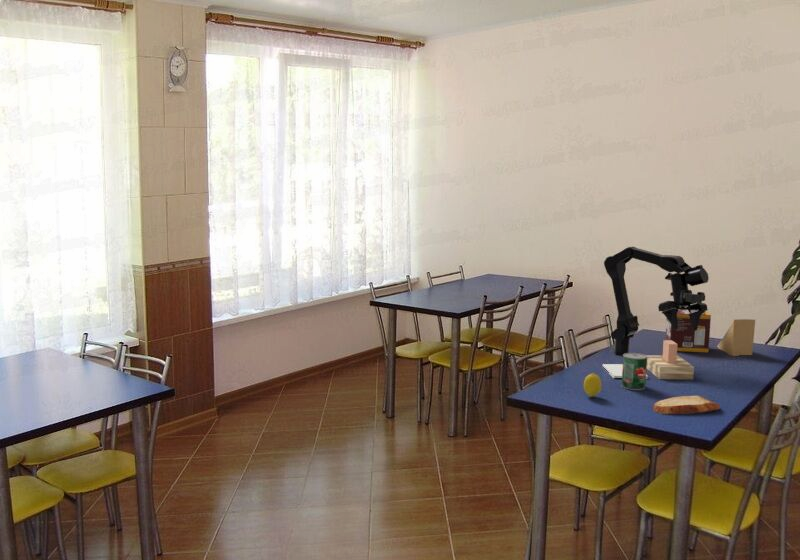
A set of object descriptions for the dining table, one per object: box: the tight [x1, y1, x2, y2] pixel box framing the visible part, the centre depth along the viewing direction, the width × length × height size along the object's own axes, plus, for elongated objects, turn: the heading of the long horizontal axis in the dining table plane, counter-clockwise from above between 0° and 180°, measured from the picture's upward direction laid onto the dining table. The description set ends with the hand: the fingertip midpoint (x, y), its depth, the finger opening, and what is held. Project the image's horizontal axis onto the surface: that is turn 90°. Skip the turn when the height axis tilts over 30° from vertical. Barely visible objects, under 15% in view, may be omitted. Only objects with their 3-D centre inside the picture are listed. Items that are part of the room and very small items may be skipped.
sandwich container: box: [716, 318, 756, 357], centre depth 316 cm, size 9×15×15 cm, turn 0°
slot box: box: [645, 354, 695, 380], centre depth 283 cm, size 16×12×4 cm
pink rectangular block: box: [662, 340, 678, 363], centre depth 283 cm, size 6×3×10 cm, turn 0°
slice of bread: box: [652, 395, 721, 415], centre depth 243 cm, size 18×18×4 cm
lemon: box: [583, 372, 602, 398], centre depth 254 cm, size 6×6×8 cm
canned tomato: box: [621, 352, 648, 391], centre depth 265 cm, size 8×8×11 cm
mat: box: [601, 363, 649, 380], centre depth 284 cm, size 16×12×1 cm
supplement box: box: [664, 309, 712, 353], centre depth 320 cm, size 10×15×16 cm
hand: (686, 330), depth 287 cm, fingers open, 9 cm apart
